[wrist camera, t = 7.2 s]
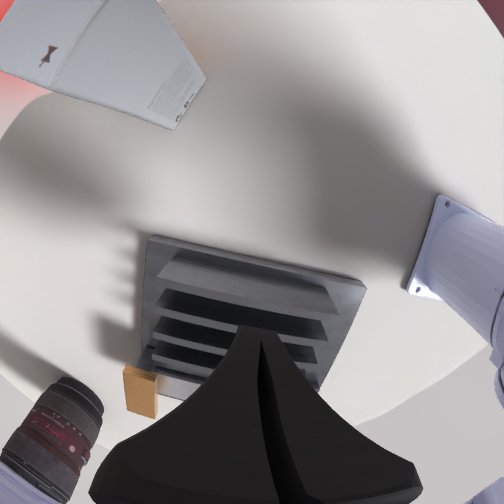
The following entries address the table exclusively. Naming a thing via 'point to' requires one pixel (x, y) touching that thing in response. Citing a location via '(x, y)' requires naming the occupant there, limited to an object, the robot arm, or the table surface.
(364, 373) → the table surface
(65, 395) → the camera lens
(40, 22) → the skincare box
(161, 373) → the clip
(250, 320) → the heatsink
